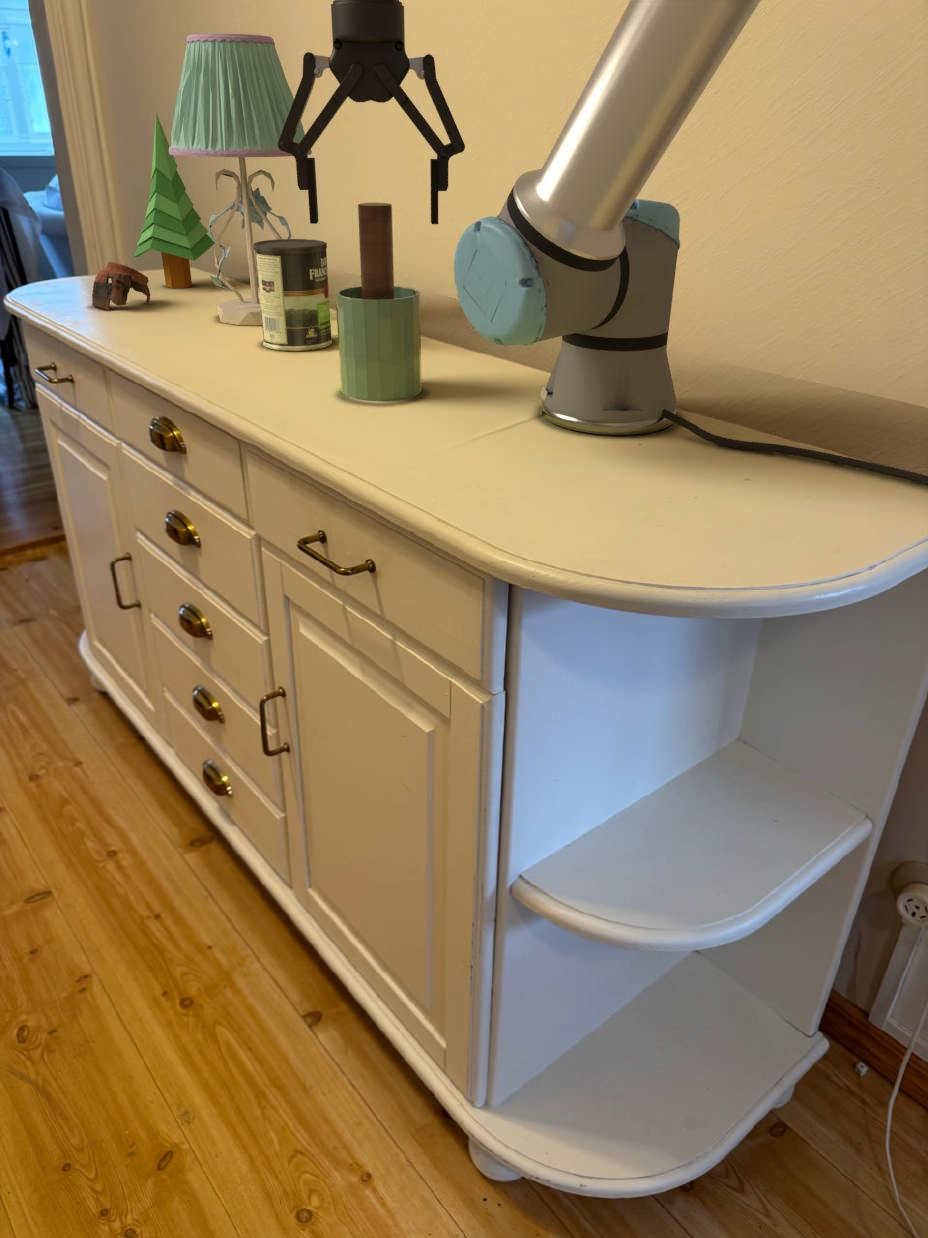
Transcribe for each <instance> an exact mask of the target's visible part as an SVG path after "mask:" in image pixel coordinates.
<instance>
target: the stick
mask: <svg viewBox="0 0 928 1238" xmlns="http://www.w3.org/2000/svg"><path fill="white" fill-rule="evenodd" d="M357 214H358V216H357V217H358V234H359V235H358V237H359V239H358V241H359V260H360V261H359V262H360V282H361V283H360V284H361V285H360V286H362V299H376V300H378V299H394V286H395V272H394V270H395V268H394V237H393V236H394V234H393V233H394V232H393V204H392V203H387V202H362V203H358V204H357Z"/></svg>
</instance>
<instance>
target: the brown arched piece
mask: <svg viewBox="0 0 928 1238" xmlns="http://www.w3.org/2000/svg"><path fill="white" fill-rule="evenodd" d="M106 264H107V265H106V267H105V268H102V270H99V272H98V273H96V275H95V278H94V281H93V285H92V291H91V292H92V293H91V306H92V307H97V308H101V309H102V310H103V309H104V310H107V311H110V309H111V306H110V305H111V302H112V303H113V304H114V305H115V306H125V305H127V301H128V296H129V293H130V290H131V289H133V291H135V292H138V293H142V294H143V295H144V296H146V301H145V302H146V304H147V305H149V304H150V301H151V291H150V288H149V285H148V283H149V281H150V280H149V277H148V276H147V275H145V274H143V273H142V272H140V271H138V270H136V269H135V268H133V267H130V266H128V265H125V264H122V263H119V262H114V261H108V262H107V263H106ZM109 280H110V281H111V282H110V281H109Z"/></svg>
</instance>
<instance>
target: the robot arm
mask: <svg viewBox="0 0 928 1238" xmlns="http://www.w3.org/2000/svg"><path fill="white" fill-rule="evenodd" d="M761 1H762V0H629V2H628V3H627V5H626V6H625V9H624V11H623V13H622V15H621V17H620V19H619V21H618V22H617V25H616V27H615V28H614V30H613V32H612V34H611V36H610V38H609V40H608V41H607V44H606V45H605V48H604V49H603V51H602V53H601V55H600V57H599V59H598V61H597V63H596V64H595V67H593V70H592V73H591V74H590V76H589V78H588V80H587V82H586V83H585V86H584V87H583V89H582V91H581V93H580V95H579V97H578V99H577V101H576V103H575V104H574V107H573V109H572V110H571V112H570V114H569V116H568V118H567V120H566V121H565V124H564V126H562V127H563V128H562V129H561V131H560V133H559V135H558V137H557V139H556V140H555V142H554V144H553V146H552V148H551V150H550V152H549V154H548V156H547V158H546V159H545V162H544V164H543V166H542V167H541V168H538V169H534V170H533V169H532V170H529V171H526V172H523V173H522V174H520V175H519V176H518V177H517V179H516V180H515V182H514V184H513V186H512V188H511V190H510V192H509V194H508V196H507V197H506V199H505V201H504V204H503V206H502V207H501V210H500V212H499V213H498V214H497V216H492V215H491V216H485V217H482V218H480V219H479V220H476V221H474V222H473V223H471V224H470V225H468V227H467V228H466V229H465V230H464V231H463V232H462V235H461V236H460V238H459V239H458V242H457V245H456V249H455V254H454V260H453V278H454V280H453V281H454V284H455V287H456V291H457V292H456V294H457V299H458V302H459V305H460V307H461V309H462V311H463V315H464V316H465V317H466V319H467V321H468V322H469V324H470V325H471V326H472V328H473V329H474V330H475V331H476V333H478V334H479V335H480V336H481V337H482V338H484V339H485V340H486V341H488V342H490V343H492V344H493V345H497V346H502V347H513V346H531V345H533V344H535V343H538V342H542V341H547V340H552V339H555V338H559V337H561V344H560V349H559V350H558V351H559V352H558V354H557V357H556V359H555V361H554V365H553V367H552V370H551V373H550V376H549V378H548V380H547V383H546V386H542V389H541V391H540V398H541V401H542V402H541V414H542V415H541V416H542V417H543V418H544V419H545V420H546V421H548V422H550V423H552V424H554V425H556V426H559V427H561V428H564V429H568V430H573V431H577V432H583V433H589V434H590V433H591V434H597V435H612V436H613V435H617V436H618V435H620V436H621V435H622V436H623V435H624V436H625V435H640V434H641V435H642V434H648V433H654V432H657V431H662V430H663V429H666V428H668V427H670V426H671V425H673V424H676V425H678V426H680V427H682V428H684V429H686V430H687V431H689V432H691V433H692V434H694V435H696V436H698V437H699V438H700V439H703V440H705V441H708V442H709V443H713V444H715V445H720V446H723V447H728V448H733V449H740V450H746V451H747V450H748V451H758V452H768V453H776V454H784V455H789V456H796V457H801V458H806V459H810V460H816V461H822V462H827V463H832V464H835V465H842V466H846V467H850V468H854V469H858V470H863V471H867V472H872V473H876V474H881V475H885V476H888V477H894V478H898V479H902V480H905V481H909V482H913V483H917V484H922V485H924V486H928V475H926V474H922V473H918V472H914V471H910V470H907V469H902V468H897V467H893V466H888V465H884V464H881V463H877V462H872V461H871V462H870V461H867V460H862V459H857V458H852V457H848V456H844V455H838V454H834V453H829V452H823V451H818V450H813V449H808V448H801V447H797V446H791V445H785V444H779V443H778V444H777V443H768V442H758V441H748V440H747V441H746V440H740V439H734V438H728V437H723V436H720V435H717V434H713V433H711V432H708V431H706V430H705V429H703V428H701V427H700V426H698V425H696V424H694V423H693V422H691V421H690V420H687V419H685V418H684V417H682V416H680V415H677V397H676V393H675V387H674V382H673V377H672V372H671V367H670V362H669V358H668V351H667V348H668V341H669V340H668V338H669V330H670V324H671V323H670V322H671V312H672V303H673V297H674V296H673V295H674V288H675V281H676V280H675V278H676V270H677V263H678V262H677V261H678V255H679V254H678V253H679V250H680V248H681V240H680V228H681V227H680V226H681V217H680V213H679V211H678V209H677V207H676V206H674V205H673V204H671V203H667V202H664V201H663V202H662V201H655V200H649V199H640V198H637V197H638V196H639V194H640V193H641V191H642V189H644V186H645V184H646V183H647V182H648V180H649V179H650V177H651V175H652V173H653V172H654V170H655V169H656V167H657V166H658V164H659V162H660V161H661V159H662V158H663V156H664V155H665V153H666V151H667V150H668V148H669V147H670V145H671V143H672V142H673V140H674V139H675V137H676V135H677V134H678V133H679V131H680V129H681V127H682V126H683V125H684V123H685V121H686V119H688V117H689V115H690V113H691V112H692V110H693V109H694V108H695V106H696V104H697V103H698V101H699V99H700V97H701V96H702V95H703V93H704V92H705V89H706V88H707V86H708V85H709V84H710V82H711V80H712V79H713V77H714V76H715V74H716V72H717V71H718V69H719V67H720V66H721V64H722V62H723V61H724V59H725V58H726V56H727V55H728V53H729V51H730V50H731V49H732V47H733V45H734V44H735V43H736V41H737V39H738V37H739V36H740V34H741V32H742V31H743V29H744V28H745V26H746V25H747V24H748V22H749V20H750V19H751V17H752V15H753V13H755V11H756V9H757V7H758V6H759V4H760V3H761ZM330 14H331V15H330V16H331V37H332V51H331V54H330V56H325V55H317V54H314V53H313V52H310V51H307V52H305V53H304V54H303V56H302V57H303V58H302V77H301V78H300V79H301V80H300V83H299V84H298V87H297V90H296V93H295V96H294V97H293V98H294V101H293V103H292V106H291V109H290V111H289V114H288V117H287V119H286V122H285V125H284V127H283V130H282V133H281V136H280V138H279V141H278V148H279V149H280V150H281V151H284V152H287V153H289V154H292V155H293V156H292V157H294V159H295V167H296V183H297V187H298V190H299V191H307V195H308V196H307V197H308V212H309V224H310V225H317V224H318V223H319V207H318V187H317V173H316V170H317V169H316V158H315V157H309V155H308V152H309V151H310V150H311V151H312V148H313V147H314V145H315V144H316V143H317V141H318V140H319V138H320V137H321V135H322V134H323V132H324V131H325V130H326V128H327V127H328V126H329V124H330V123H331V122H332V120H333V119H334V117H335V116H336V114H337V113H338V112H339V110H340V109H341V107H342V106H343V104H344V103H345V102H346V100H347V99H348V98H349V99H350V100H351V101H352V102H354V103H365V102H369V101H372V102H375V103H380V104H381V103H387V102H389V101H390V100H392V99H394V100H395V101H396V102H397V104H398V105H399V107H400V108H401V109H402V110H403V112H404V114H405V115H406V116H407V117H408V118H409V120H410V121H411V122H412V124H413V125H414V127H415V128H416V129H417V131H418V132H419V133H420V134H421V136H422V137H423V139H424V140H425V141H426V142H427V144H428V145H429V146H430V147H431V149H432V150H433V151H434V153H435V154H436V158H430V164H429V165H430V168H429V169H430V172H429V173H430V175H429V176H430V223H431V224H430V225H439V192H447V191H448V188H449V163H450V159H451V158H452V157H453V156H455V155H458V154H461V153H463V152H464V151H465V149H466V145H465V142H464V140H463V137H462V135H461V132H460V130H459V127H458V126H457V123H456V121H455V118H454V117H453V114H452V112H451V109H450V106H449V105H448V102H447V100H446V98H445V95H444V93H443V90H442V88H441V86H440V84H439V81H438V78H437V74H436V73H437V69H436V61H435V57H434V55H432V54H430V53H427V54H425V55H424V56H418V57H417V56H416V57H408V55H407V51H406V39H405V38H406V34H405V33H406V32H405V6H404V5H403V2H401V1H400V0H332V3H331V4H330ZM326 69H329V70H330V72H331V73H332V75H333V76H334V78H335V79H336V81H337V82H338V84H339V85H338V87H337V88H336V90H335V91H334V92H333V93H332V94H331V97H330V98H329V100H328V101H327V102H326V104H325V106H324V107H323V108H322V110H321V111H320V113H319V114H318V115H317V117H316V118H315V120H314V121H313V123H312V124H311V126H309V129H307V131H306V132H305V136H304V137H303V138H302V140H301V141H300V143H296V142H294V141H293V139H294V137H295V134H296V131H297V129H298V126H299V124H300V121H301V122H302V118H303V116H304V113H305V110H306V108H307V105H308V102H309V99H310V97H311V94H312V92H313V89H314V86H315V82H316V79H320V78H322V77H323V74H324V72H325V71H326ZM410 70H412V71H414V72H415V74H416V77H417V78H418V79H419V80H423V81H424V82H425V87H426V89H427V91H428V94H429V97H430V98H431V101H432V103H433V105H434V107H435V110H436V112H437V114H438V117H439V119H440V121H441V124H442V126H443V128H444V130H445V133H446V136H447V138H448V139H449V142H448V143H447V144H444V142H443V141H442V140H441V138H440V137H439V136H438V135H437V133H436V132H435V131H434V130H433V128H432V126H431V125H430V124H429V122H428V121H427V120H426V118H425V116H423V115H422V114H421V112H420V111H419V109H418V108H417V107H416V105H415V104H414V103H413V101H412V100H411V98H410V97H409V95H408V94H407V93H406V91H405V90H404V89H403V88H402V87H401V85H402V83H403V82H404V80H405V78H406V77H407V75H408V74H409V71H410Z"/></svg>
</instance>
